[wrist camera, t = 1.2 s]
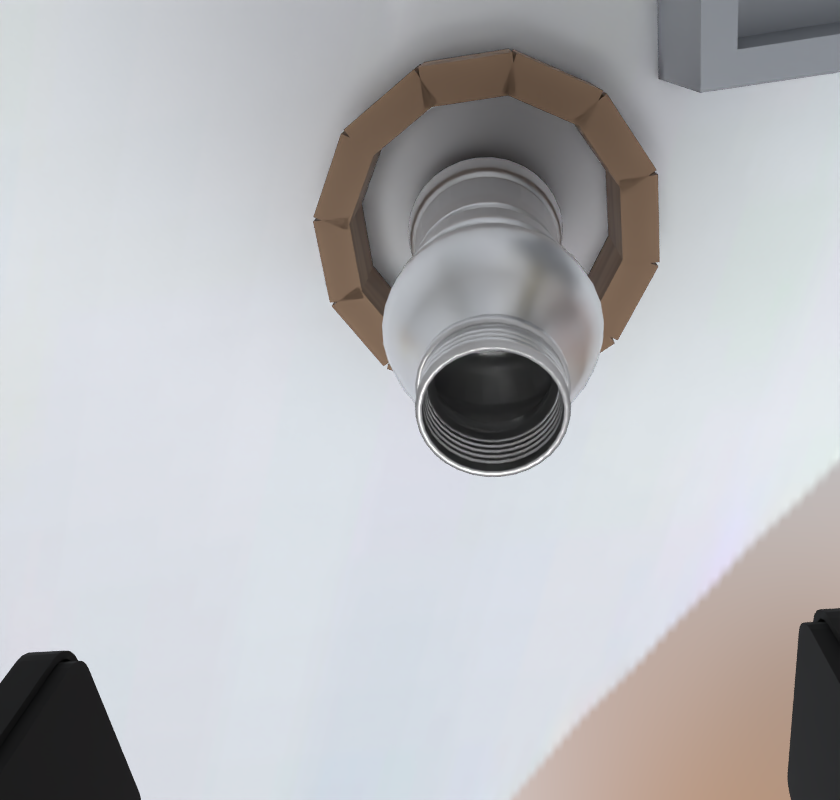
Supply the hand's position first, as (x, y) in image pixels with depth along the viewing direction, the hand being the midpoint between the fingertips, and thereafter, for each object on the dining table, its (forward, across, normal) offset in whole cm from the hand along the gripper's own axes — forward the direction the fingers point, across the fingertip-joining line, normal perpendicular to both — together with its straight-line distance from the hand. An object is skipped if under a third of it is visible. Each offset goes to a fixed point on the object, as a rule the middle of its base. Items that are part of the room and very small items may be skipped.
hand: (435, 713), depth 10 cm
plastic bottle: (+29, -1, 0) cm, 29 cm away
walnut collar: (+29, -1, 0) cm, 29 cm away
